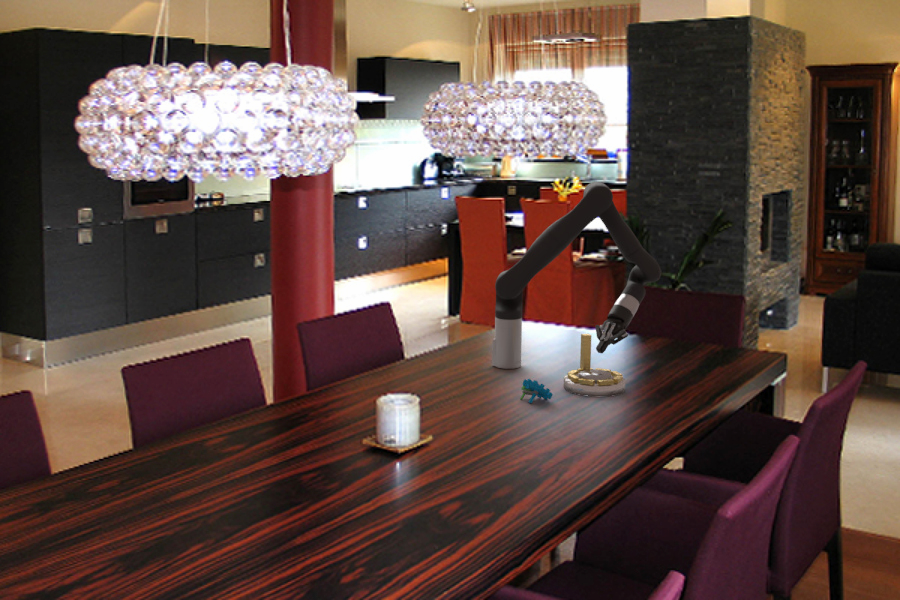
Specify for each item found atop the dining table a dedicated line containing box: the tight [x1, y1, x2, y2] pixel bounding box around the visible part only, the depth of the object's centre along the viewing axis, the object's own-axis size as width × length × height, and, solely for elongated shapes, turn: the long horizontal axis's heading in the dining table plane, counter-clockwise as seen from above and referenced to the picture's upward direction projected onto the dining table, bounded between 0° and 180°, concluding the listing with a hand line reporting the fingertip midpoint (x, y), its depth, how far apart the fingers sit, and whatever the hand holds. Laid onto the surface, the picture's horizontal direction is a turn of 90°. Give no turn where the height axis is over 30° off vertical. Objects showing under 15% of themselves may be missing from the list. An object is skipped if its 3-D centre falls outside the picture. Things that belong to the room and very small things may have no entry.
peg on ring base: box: [567, 333, 624, 385], centre depth 316 cm, size 17×17×13 cm
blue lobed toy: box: [519, 378, 554, 404], centre depth 303 cm, size 11×6×10 cm
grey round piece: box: [563, 368, 626, 397], centre depth 318 cm, size 19×19×5 cm
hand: (599, 351), depth 328 cm, fingers closed
